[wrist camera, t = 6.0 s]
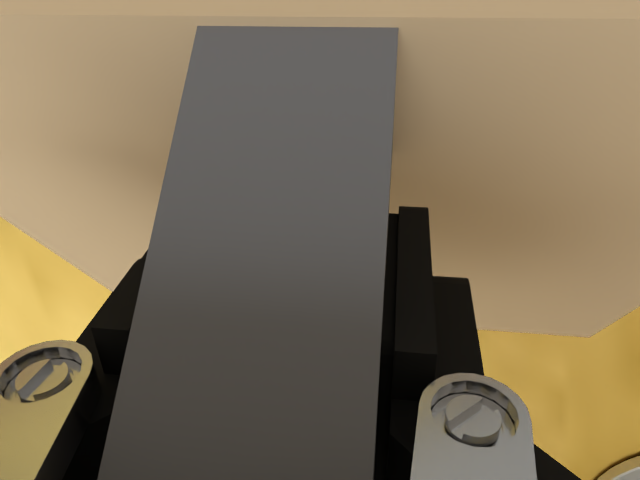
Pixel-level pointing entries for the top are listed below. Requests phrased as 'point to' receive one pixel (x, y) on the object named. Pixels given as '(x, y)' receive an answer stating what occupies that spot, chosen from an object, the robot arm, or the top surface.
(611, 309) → the carton lid
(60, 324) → the top surface
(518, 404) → the robot arm
